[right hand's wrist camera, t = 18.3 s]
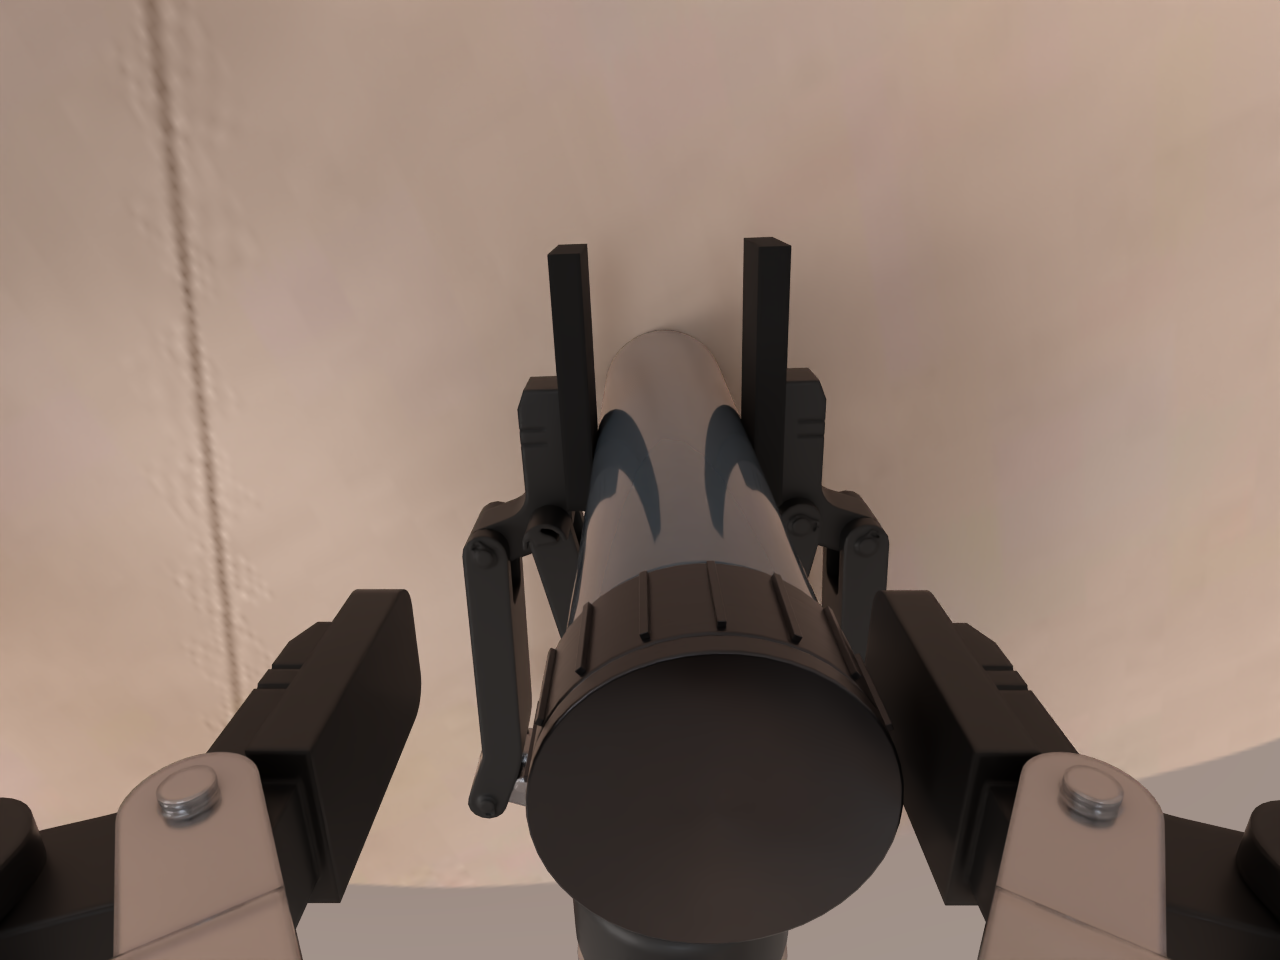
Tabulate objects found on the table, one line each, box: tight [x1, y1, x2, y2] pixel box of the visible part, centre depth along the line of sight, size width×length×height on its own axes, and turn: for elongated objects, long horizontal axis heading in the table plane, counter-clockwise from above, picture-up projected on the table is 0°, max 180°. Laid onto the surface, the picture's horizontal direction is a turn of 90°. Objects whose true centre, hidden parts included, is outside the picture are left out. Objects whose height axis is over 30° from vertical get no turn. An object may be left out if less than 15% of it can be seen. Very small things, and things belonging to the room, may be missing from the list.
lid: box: [524, 561, 904, 944], centre depth 10 cm, size 5×5×2 cm
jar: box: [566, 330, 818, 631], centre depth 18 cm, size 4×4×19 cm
